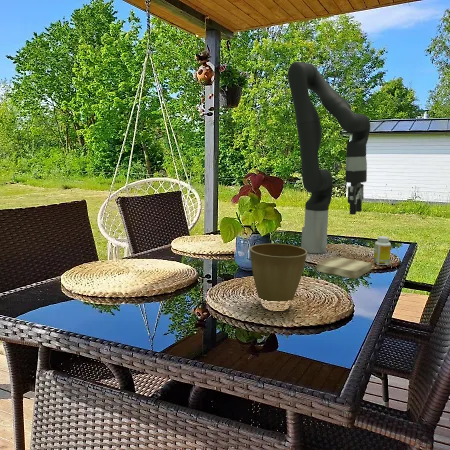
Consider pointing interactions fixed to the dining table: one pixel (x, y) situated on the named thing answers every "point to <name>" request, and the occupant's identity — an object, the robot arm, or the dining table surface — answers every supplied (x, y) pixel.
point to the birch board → (344, 267)
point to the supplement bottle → (382, 251)
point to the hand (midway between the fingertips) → (355, 213)
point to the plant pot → (277, 270)
